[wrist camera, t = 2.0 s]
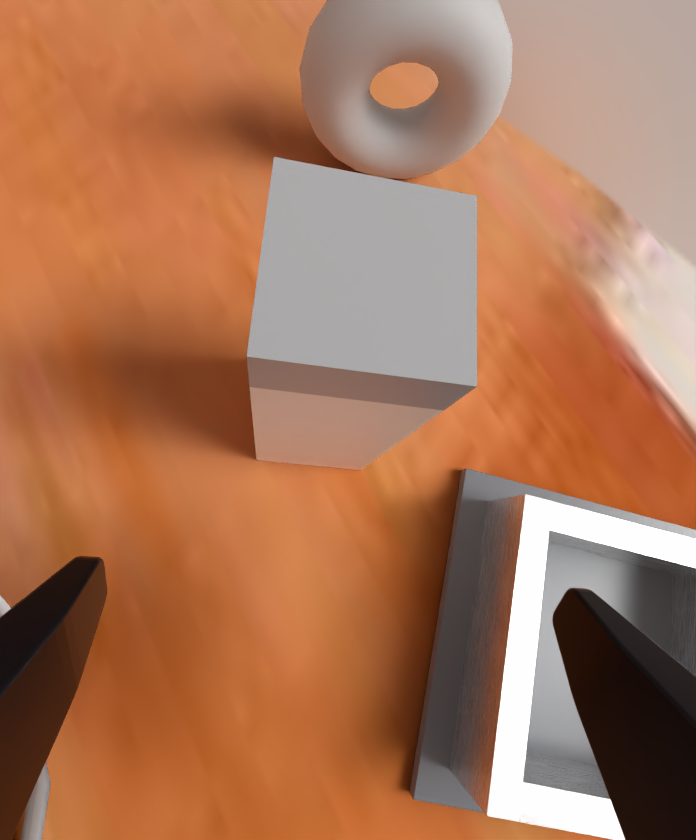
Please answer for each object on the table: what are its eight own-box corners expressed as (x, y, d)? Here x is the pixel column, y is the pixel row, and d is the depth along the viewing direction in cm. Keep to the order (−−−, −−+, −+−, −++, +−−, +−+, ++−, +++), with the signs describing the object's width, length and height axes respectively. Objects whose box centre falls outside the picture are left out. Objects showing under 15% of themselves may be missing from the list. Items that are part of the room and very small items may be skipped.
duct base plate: (703, 847, 21) (716, 856, 21) (409, 791, 20) (413, 799, 19) (707, 535, 25) (717, 535, 24) (461, 470, 24) (466, 468, 23)
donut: (459, 155, 29) (557, -37, 19) (461, 203, 28) (565, 27, 18) (294, 128, 27) (311, -96, 17) (291, 178, 26) (307, -29, 17)
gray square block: (360, 470, 23) (476, 386, 10) (256, 460, 22) (246, 356, 10) (367, 373, 24) (476, 195, 12) (268, 360, 23) (273, 156, 11)
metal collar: (690, 816, 21) (771, 868, 17) (449, 769, 20) (486, 815, 16) (694, 555, 24) (764, 557, 21) (487, 500, 23) (525, 494, 19)
